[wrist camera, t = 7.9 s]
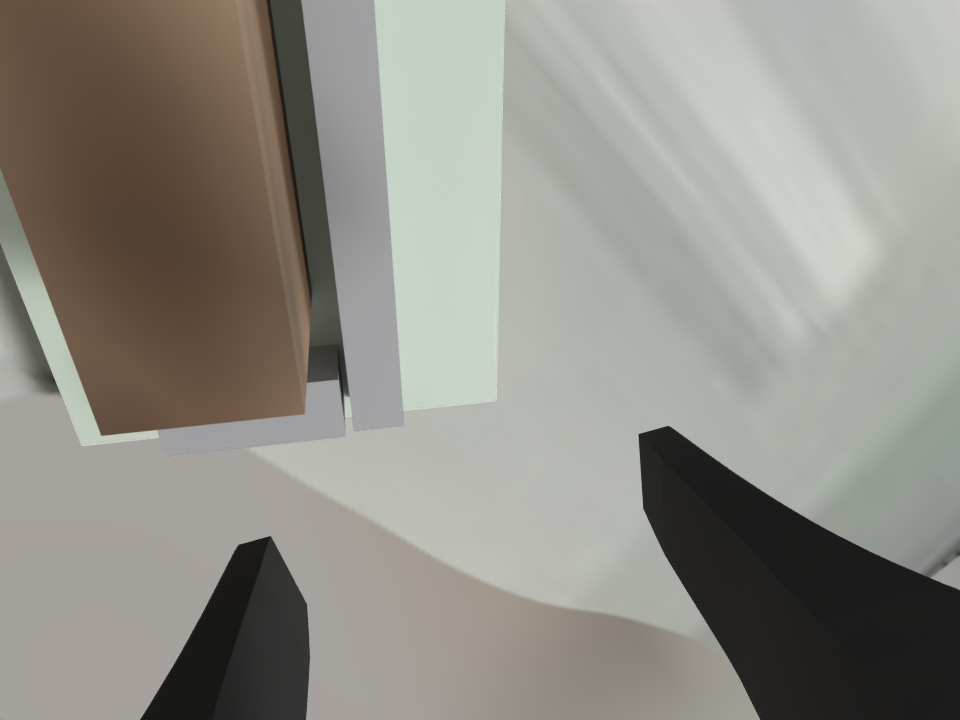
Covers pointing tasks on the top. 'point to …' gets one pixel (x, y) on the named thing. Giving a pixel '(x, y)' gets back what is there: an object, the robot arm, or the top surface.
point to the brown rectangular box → (160, 204)
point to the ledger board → (365, 219)
